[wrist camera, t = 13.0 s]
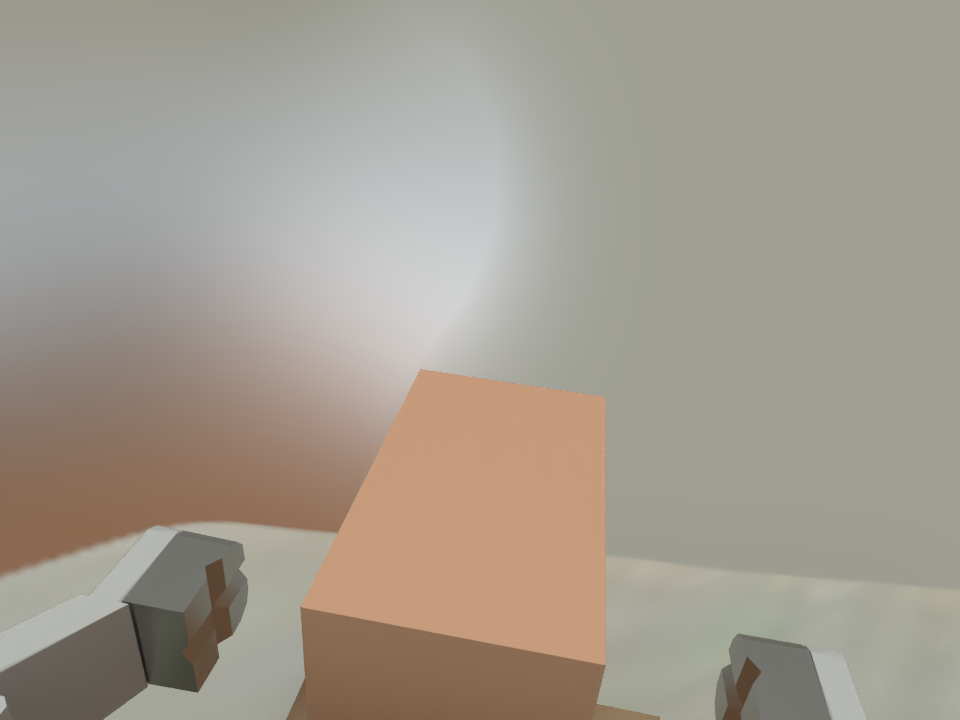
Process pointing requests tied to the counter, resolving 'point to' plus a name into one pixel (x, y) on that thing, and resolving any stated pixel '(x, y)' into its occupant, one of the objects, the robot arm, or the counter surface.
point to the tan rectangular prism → (468, 563)
